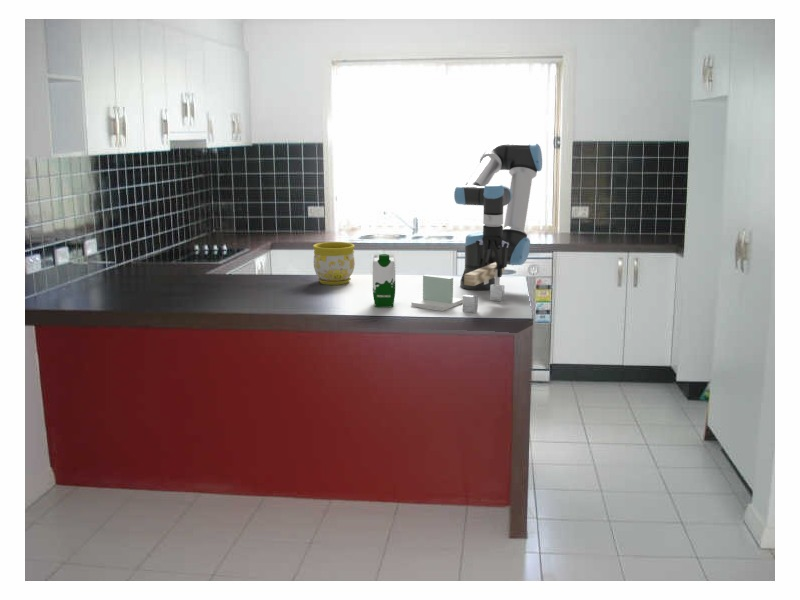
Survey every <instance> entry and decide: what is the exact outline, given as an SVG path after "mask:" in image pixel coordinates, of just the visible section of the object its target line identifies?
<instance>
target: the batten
mask: <svg viewBox="0 0 800 600" xmlns="http://www.w3.org/2000/svg"><path fill="white" fill-rule="evenodd" d="M496 268H497V265H496V262H495V263H492V264H490V265H487V266H485V267H482V268H479V269H477V270H474V271H472V272H469V273H466V274H464V285H469V286H475V285H478V284H480V283H482V282H485V281H487V280H489V279H492V278H494V277H495V269H496ZM504 274H505V268H502V275H504Z"/></svg>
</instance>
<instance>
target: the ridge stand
mask: <svg viewBox="0 0 800 600" xmlns="http://www.w3.org/2000/svg"><path fill="white" fill-rule="evenodd" d="M461 304H462V305H463V298H459V297H454V277H449V276H442V275H441V276H439V275H433V274H423V276H422V298H420V299H418V300H414V301H412V302H411V307H413V306H414V307H415V308H421V309H427V310H435V311H440V312H445V311H447V310H449V309H451V308H454V307H457V306H459V305H461ZM414 307H413V308H414Z"/></svg>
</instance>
